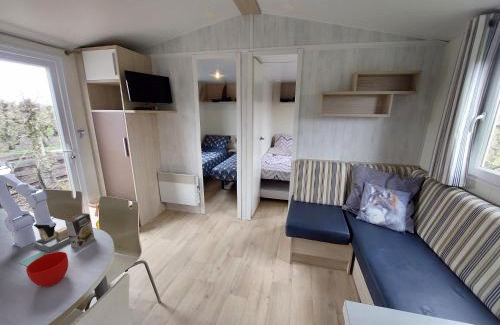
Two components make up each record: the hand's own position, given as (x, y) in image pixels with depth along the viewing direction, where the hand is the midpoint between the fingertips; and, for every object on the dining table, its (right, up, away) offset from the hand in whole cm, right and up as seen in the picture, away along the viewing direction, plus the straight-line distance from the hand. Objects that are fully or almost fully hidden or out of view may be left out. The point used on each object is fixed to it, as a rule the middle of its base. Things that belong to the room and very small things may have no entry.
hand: (48, 235), depth 115 cm
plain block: (+2, -4, +7) cm, 8 cm away
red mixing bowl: (+21, -12, -20) cm, 32 cm away
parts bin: (+1, -5, +4) cm, 7 cm away
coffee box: (+16, -6, +4) cm, 17 cm away
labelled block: (0, -1, 0) cm, 1 cm away
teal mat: (+2, -9, -9) cm, 13 cm away
